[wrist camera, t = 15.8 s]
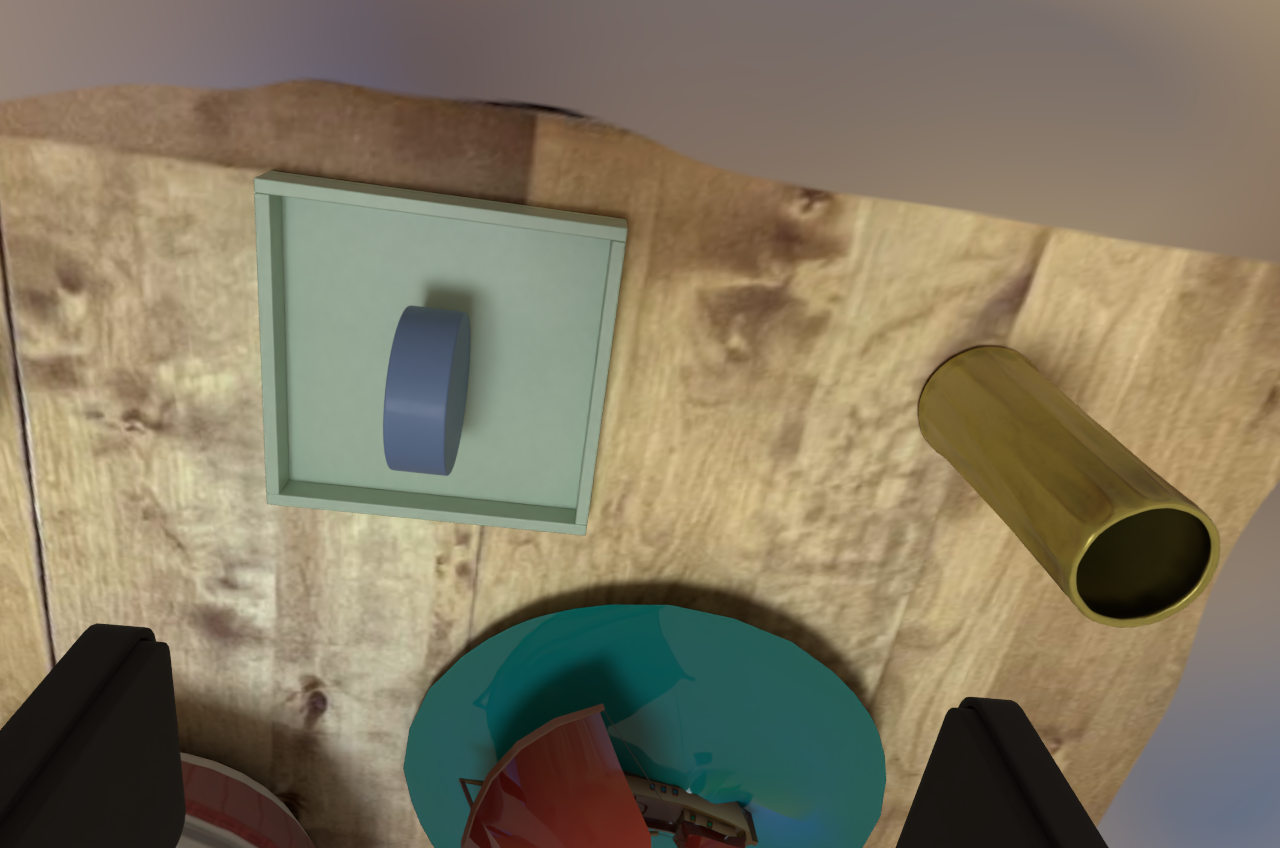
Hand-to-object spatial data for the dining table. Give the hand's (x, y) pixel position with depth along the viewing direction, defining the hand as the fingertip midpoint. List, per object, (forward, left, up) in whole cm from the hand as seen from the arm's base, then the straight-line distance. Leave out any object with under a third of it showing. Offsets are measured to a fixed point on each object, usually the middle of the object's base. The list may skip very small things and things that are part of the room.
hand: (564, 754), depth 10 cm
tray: (+7, -6, -30) cm, 32 cm away
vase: (+6, +20, -31) cm, 37 cm away
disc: (+7, -6, -30) cm, 31 cm away
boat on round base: (+32, +7, -31) cm, 45 cm away
